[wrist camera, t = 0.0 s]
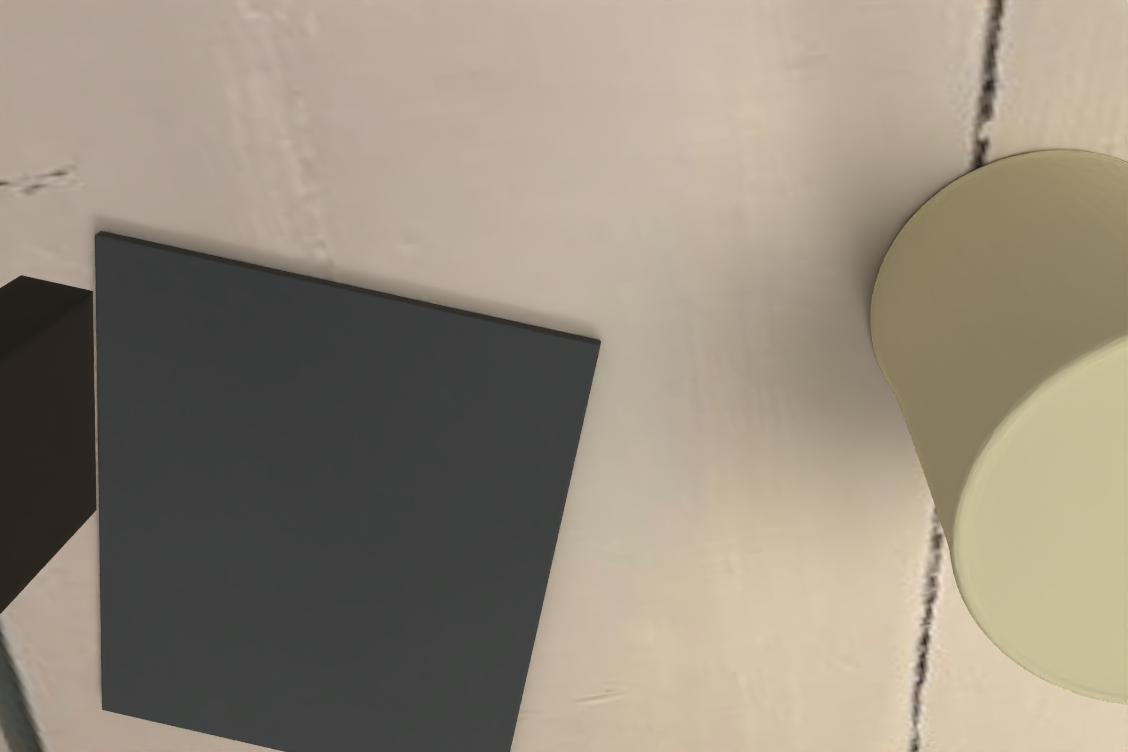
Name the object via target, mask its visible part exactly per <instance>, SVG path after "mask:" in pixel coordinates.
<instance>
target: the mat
mask: <svg viewBox="0 0 1128 752" xmlns="http://www.w3.org/2000/svg"><path fill="white" fill-rule="evenodd" d="M95 266H96V333H97V400H98V467H99V534H100V601H101V668H102V710H106V711H110V712H114V713H119V714H123V715H128V716H132V717H136V718H141V719H145V720H149V721H154V722H158V723H162V724H167V725H171V726H176V727H180V728H184V729H189V730H193V731H197V732H202V733H206V734H210V735H215V736H219V737H224V738H228V739H232V740H237V741H241V742H245V743H250V744H254V745H258V746H263V747H267V748H272V749H276V750H280V751H285V752H510V749H511V744H512V740H513V735H514V731H515V726H516V722H517V717H518V713H519V708H520V704H521V699H522V695H523V690H524V686H525V681H526V677H527V672H528V668H529V663H530V659H531V654H532V650H533V645H534V641H535V636H536V632H537V627H538V623H539V619H540V614H541V610H542V605H543V601H544V596H545V592H546V587H547V583H548V578H549V574H550V569H551V565H552V560H553V556H554V551H555V547H556V542H557V538H558V533H559V529H560V524H561V520H562V515H563V511H564V506H565V502H566V497H567V493H568V488H569V484H570V479H571V475H572V470H573V466H574V461H575V457H576V452H577V448H578V443H579V439H580V434H581V430H582V425H583V421H584V416H585V412H586V407H587V403H588V398H589V394H590V389H591V385H592V380H593V376H594V371H595V367H596V362H597V358H598V353H599V349H600V344H601V341H600V340H595V339H591V338H586V337H582V336H577V335H573V334H568V333H563V332H559V331H554V330H550V329H545V328H541V327H536V326H532V325H527V324H522V323H518V322H513V321H509V320H504V319H500V318H495V317H490V316H486V315H481V314H477V313H472V312H468V311H463V310H458V309H454V308H449V307H445V306H440V305H436V304H431V303H427V302H422V301H417V300H413V299H408V298H404V297H399V296H395V295H390V294H385V293H381V292H376V291H372V290H367V289H363V288H358V287H353V286H349V285H344V284H340V283H335V282H331V281H326V280H322V279H317V278H312V277H308V276H303V275H299V274H294V273H290V272H285V271H280V270H276V269H271V268H267V267H262V266H258V265H253V264H248V263H244V262H239V261H235V260H230V259H226V258H221V257H217V256H212V255H207V254H203V253H198V252H194V251H189V250H185V249H180V248H175V247H171V246H166V245H162V244H157V243H153V242H148V241H143V240H139V239H134V238H130V237H125V236H121V235H116V234H111V233H107V232H102V231H101V232H99V233H97V234H96V235H95Z"/></svg>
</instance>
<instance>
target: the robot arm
mask: <svg viewBox="0 0 1128 752" xmlns="http://www.w3.org/2000/svg"><path fill="white" fill-rule="evenodd" d="M95 511H96V458H95V397H94V336H93V291H90V290H86V289H81V288H76V287H72V286H67V285H63V284H58V283H54V282H49V281H45V280H40V279H36V278H31V277H27V276H22V275H21V276H19V277H17V278H16V279H14V280H13V281H11V282H9V283H8V284H6V285H5V286H3V287H1V288H0V614H1V613H2V612H3V611H4V609H5V608H6V607H7V606H8V605H9V604H10V603H11V602H12V601H13V600H14V599H15V598H16V596H17V595H18V594H19V593H20V592H21V591H22V590H23V589H24V588H25V587H26V586H27V585H28V583H29V582H30V581H31V580H32V579H33V578H34V577H35V576H36V575H37V574H38V573H39V572H40V570H41V569H42V568H43V567H44V566H45V565H46V564H47V563H48V562H49V561H50V560H51V559H52V558H53V556H54V555H55V554H56V553H57V552H58V551H59V550H60V549H61V548H62V547H63V546H64V545H65V543H66V542H67V541H68V540H69V539H70V538H71V537H72V536H73V535H74V534H75V533H76V532H77V530H78V529H79V528H80V527H81V526H82V525H83V524H84V523H85V522H86V521H87V520H88V519H89V517H90V516H91V515H92V514H93V513H94V512H95Z"/></svg>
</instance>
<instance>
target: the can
mask: <svg viewBox="0 0 1128 752" xmlns="http://www.w3.org/2000/svg"><path fill="white" fill-rule="evenodd" d="M870 326H871V336H872V343H873V347H874V351H875V354H876V358H877V361H878V364H879V366H880V369H881V371H882V373H883V375H884V377H885V379H886V381H887V382H888V384H889V386H890V387H891V389H892V390H893V392H894V393H895V394H896V396H897V399H898V401H899V404H900V407H901V409H902V412H903V415H904V418H905V421H906V423H907V426H908V429H909V432H910V435H911V437H912V440H913V443H914V446H915V448H916V451H917V454H918V457H919V460H920V462H921V465H922V468H923V471H924V474H925V477H926V480H927V483H928V486H929V489H930V492H931V495H932V498H933V501H934V504H935V507H936V510H937V513H938V516H939V519H940V522H941V525H942V528H943V531H944V534H945V537H946V540H947V543H948V546H949V550H950V557H951V563H952V569H953V573H954V577H955V580H956V583H957V587H958V589H959V592H960V594H961V597H962V599H963V601H964V603H965V604H966V606H967V608H968V610H969V612H970V614H971V615H972V617H973V618H974V620H975V621H976V623H977V624H978V626H979V627H980V628H981V629H982V631H983V632H984V633H985V635H986V636H987V637H988V638H989V639H990V640H991V641H992V642H993V643H994V644H995V645H996V646H997V647H998V648H999V649H1000V650H1001V651H1002V652H1003V653H1004V654H1006V655H1007V656H1008V657H1009V658H1010V659H1012V660H1013V661H1014V662H1015V663H1017V664H1018V665H1020V666H1021V667H1023V668H1024V669H1026V670H1027V671H1029V672H1031V673H1032V674H1034V675H1036V676H1037V677H1039V678H1041V679H1043V680H1045V681H1047V682H1049V683H1051V684H1053V685H1056V686H1058V687H1061V688H1064V689H1066V690H1069V691H1072V692H1074V693H1077V694H1080V695H1083V696H1087V697H1090V698H1094V699H1099V700H1103V701H1108V702H1113V703H1121V704H1128V162H1126V161H1123V160H1120V159H1117V158H1114V157H1111V156H1107V155H1103V154H1099V153H1093V152H1087V151H1076V150H1050V151H1037V152H1031V153H1026V154H1021V155H1016V156H1012V157H1009V158H1005V159H1002V160H998V161H995V162H993V163H990V164H988V165H985V166H983V167H980V168H978V169H976V170H974V171H972V172H970V173H968V174H966V175H964V176H962V177H961V178H959V179H957V180H956V181H954V182H952V183H951V184H949V185H948V186H947V187H945V188H944V189H942V190H941V191H940V192H938V193H937V194H936V195H935V196H933V197H932V198H931V199H930V200H928V201H927V202H926V203H925V204H924V205H923V206H922V207H921V208H920V209H919V210H918V211H917V212H916V213H915V214H914V215H913V216H912V218H911V219H910V220H909V221H908V222H907V223H906V224H905V226H904V227H903V228H902V230H901V231H900V233H899V234H898V236H897V237H896V239H895V240H894V242H893V243H892V245H891V247H890V248H889V250H888V252H887V254H886V256H885V258H884V260H883V263H882V265H881V267H880V270H879V273H878V275H877V279H876V282H875V286H874V290H873V295H872V301H871V311H870Z"/></svg>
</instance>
